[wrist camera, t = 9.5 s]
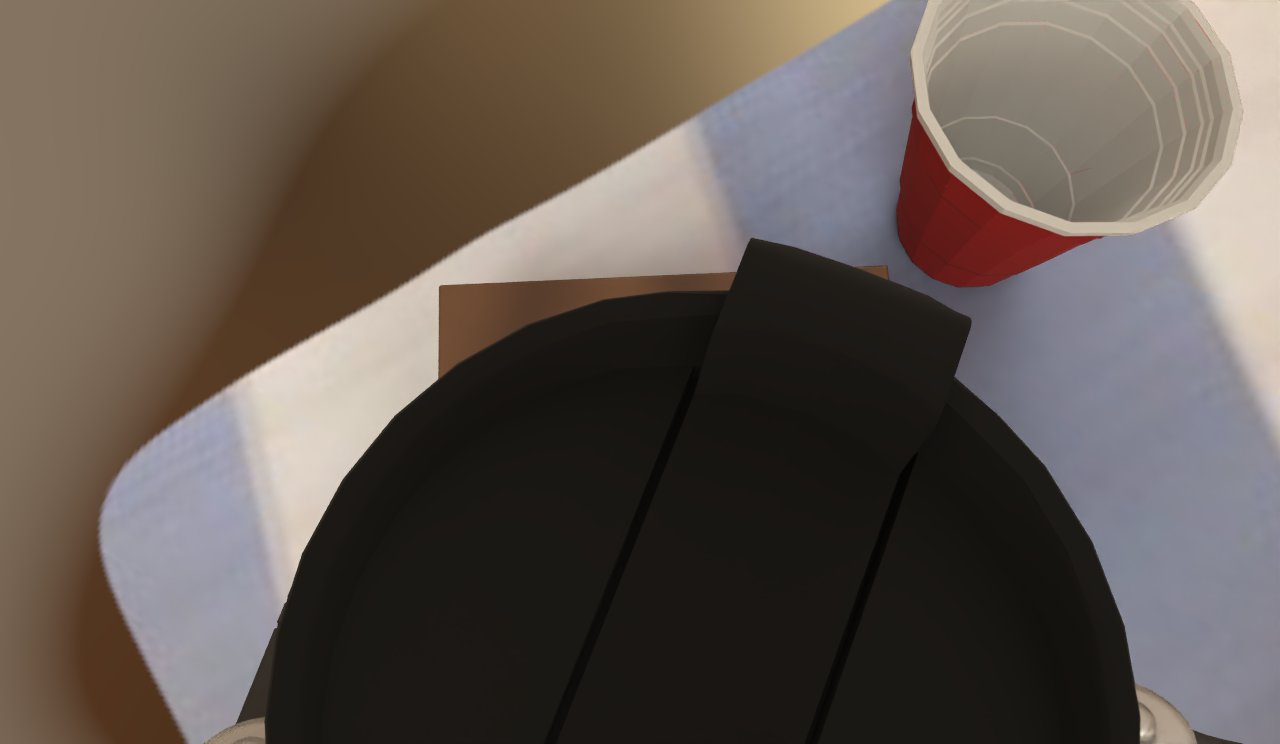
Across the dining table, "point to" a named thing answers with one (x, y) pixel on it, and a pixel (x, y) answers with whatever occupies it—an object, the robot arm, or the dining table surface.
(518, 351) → the travel mug
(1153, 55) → the plastic cup
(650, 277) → the wooden box
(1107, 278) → the dining table surface
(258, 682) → the robot arm
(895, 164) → the dining table surface
